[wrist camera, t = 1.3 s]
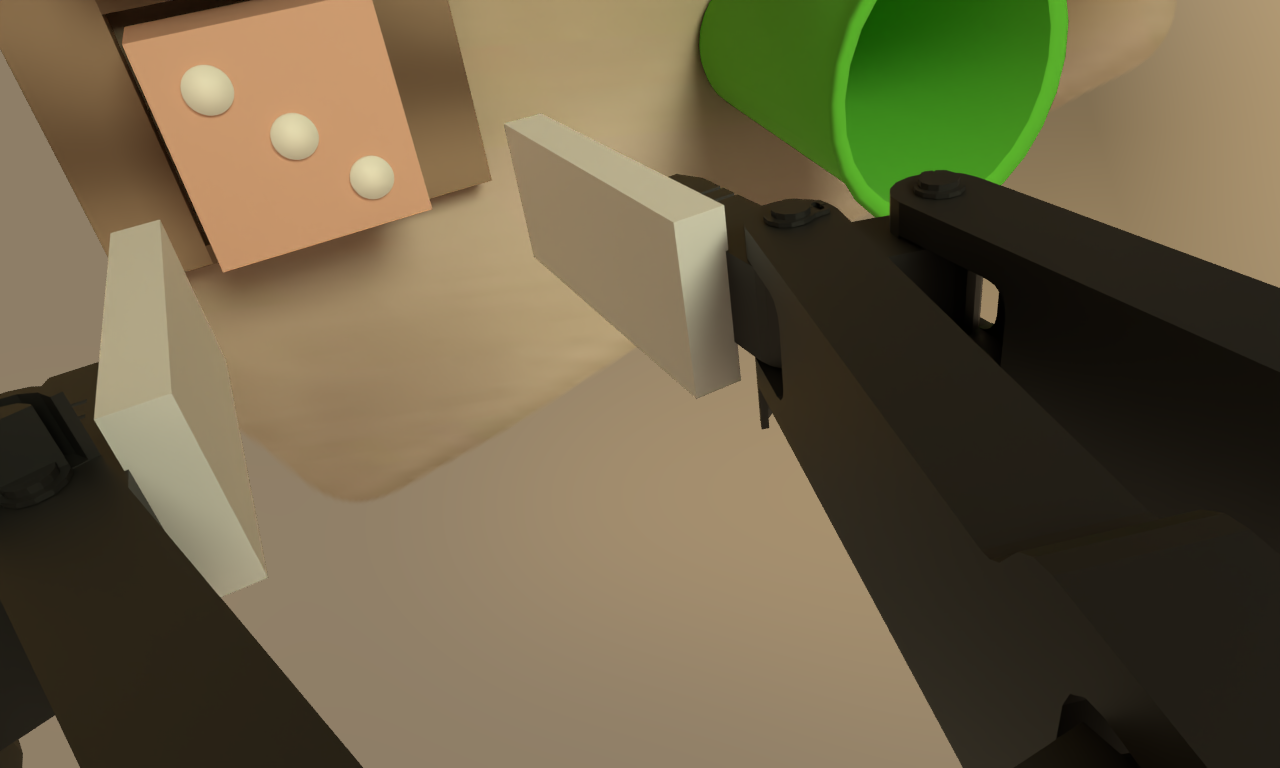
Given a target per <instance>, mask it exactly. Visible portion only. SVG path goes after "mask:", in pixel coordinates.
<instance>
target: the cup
mask: <svg viewBox="0 0 1280 768" xmlns="http://www.w3.org/2000/svg"><path fill="white" fill-rule="evenodd" d="M1067 32H1068V11H1067V0H711V1H710V3H709V5H708V7H707V9H706V11H705V13H704V17H703V21H702V25H701V28H700V39H699V50H700V57H701V63H702V65H703V68H704V71H705V74H706V76H707V79H708V81H709V83H710V84H711V86H712V87H713V89H714V90H715V91H716V93H717V94H718V95H719V96H721V97H722V98H723V99H724V100H725V101H726V102H728V103H729V104H731V105H732V106H733V107H735V108H736V109H738V110H739V111H741V112H742V113H744V114H745V115H747V116H748V117H749V118H751V119H752V120H754V121H755V122H757V123H758V124H760V125H761V126H763V127H764V128H765V129H767V130H768V131H770V132H771V133H773V134H774V135H776V136H777V137H778V138H780V139H781V140H783V141H784V142H786V143H787V144H789V145H790V146H792V147H793V148H794V149H796V150H797V151H799V152H800V153H802V154H803V155H805V156H806V157H808V158H809V159H810V160H812V161H813V162H815V163H816V164H818V165H819V166H821V167H822V168H823V169H825V170H826V171H828V172H829V173H831V174H832V175H834V176H835V177H837V178H838V179H839V180H841V181H842V182H844V183H845V184H846V186H847V188H848V189H849V191H850V192H851V194H852V196H853V197H854V199H855V200H856V201H857V202H858V203H859V204H860V205H861V206H863V207H864V208H865V209H866V210H867V211H868V212H869V213H871V214H872V215H873V216H874V217H876V218H877V217H882V216H887V215H889V211H890V188H891V187H892V186H893V185H894V184H895V183H896V182H898V181H900V180H903V179H905V178H907V177H910V176H915V175H919V174H921V172H924V171H931V170H933V171H935V170H948V171H951V172H954V173H964V174H968V175H972V176H976V177H979V178H982V179H985V180H987V181H990V182H993V183H996V184H998V185H1002V184H1003V183H1004V182H1005V181H1006V179H1007V178H1008V177H1009V175H1010V174H1011V173H1012V172H1013V171H1014V169H1015V168H1016V167H1017V166H1018V164H1019V163H1020V162H1021V161H1022V160H1023V158H1024V157H1025V156H1026V154H1027V152H1028V151H1029V149H1030V147H1031V145H1032V144H1033V142H1034V140H1035V139H1036V137H1037V135H1038V133H1039V132H1040V130H1041V128H1042V127H1043V124H1044V122H1045V119H1046V117H1047V115H1048V112H1049V110H1050V107H1051V105H1052V102H1053V100H1054V97H1055V95H1056V92H1057V88H1058V84H1059V80H1060V76H1061V72H1062V68H1063V64H1064V60H1065V54H1066V43H1067Z"/></svg>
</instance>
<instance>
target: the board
mask: <svg viewBox="0 0 1280 768" xmlns="http://www.w3.org/2000/svg"><path fill="white" fill-rule="evenodd" d="M166 1H171V0H0V49H1V51H2V53H3V55H4V57H5V59H6V61H7V63H8V65H9V67H10V68H11V70H12V72H13V75H14V76H15V78H16V80H17V82H18V84H19V86H20V88H21V90H22V92H23V94H24V96H25V98H26V100H27V102H28V103H29V105H30V107H31V109H32V111H33V113H34V115H35V117H36V119H37V121H38V123H39V125H40V127H41V129H42V131H43V132H44V134H45V136H46V138H47V140H48V142H49V144H50V146H51V148H52V150H53V152H54V154H55V156H56V158H57V160H58V162H59V163H60V165H61V167H62V169H63V171H64V173H65V175H66V177H67V179H68V181H69V183H70V185H71V187H72V188H73V190H74V192H75V194H76V196H77V198H78V200H79V202H80V204H81V206H82V208H83V210H84V211H85V214H86V216H87V218H88V219H89V221H90V223H91V225H92V227H93V229H94V231H95V233H96V235H97V237H98V239H99V241H100V242H101V245H102V247H103V249H104V250H105V252H106V254H107V256H109V245H110V234H111V233H113V232H116V231H120V230H124V229H127V228H131V227H134V226H138V225H142V224H145V223H149V222H152V221H156V220H161V223H162V225H163V227H164V229H165V231H166V233H167V235H168V237H169V240H170V242H171V244H172V246H173V248H174V250H175V252H176V254H177V257H178V259H179V261H180V263H181V265H182V267H183V269H184V272H187V271H190V270H194V269H197V268H201V267H204V266H207V265H211V264H214V263H217V262H218V260H217V258H216V255H215V253H214V251H213V249H212V246H211V244H210V242H209V240H208V237H207V235H206V233H205V232H202V230H201V228H200V225H199V223H198V221H197V219H196V216H195V214H194V212H193V210H192V207H191V205H190V203H189V201H188V198H187V196H186V194H185V192H184V190H183V187H182V185H181V183H180V181H179V178H178V176H177V174H176V172H175V169H174V167H173V165H172V163H171V160H170V158H169V156H168V154H167V151H166V149H165V147H164V145H163V142H162V140H161V138H160V136H159V133H158V131H157V129H156V127H155V124H154V122H153V120H152V118H151V115H150V113H149V111H148V109H147V106H146V104H145V102H144V100H143V97H142V95H141V93H140V91H139V89H138V86H137V84H136V82H135V80H134V77H133V75H132V73H131V71H130V68H129V66H128V64H127V62H126V59H125V57H124V55H123V53H122V50H121V48H120V46H119V44H118V41H117V39H116V37H115V35H114V32H113V30H112V28H111V26H110V23H109V21H108V19H107V17H106V14H107V13H112V12H117V11H122V10H127V9H132V8H137V7H142V6H147V5H151V4H156V3H161V2H166ZM372 1H373V5H374V8H375V12H376V15H377V19H378V22H379V25H380V29H381V32H382V36H383V39H384V43H385V46H386V50H387V53H388V57H389V60H390V64H391V67H392V71H393V74H394V78H395V81H396V85H397V88H398V92H399V95H400V98H401V102H402V105H403V109H404V112H405V116H406V119H407V123H408V126H409V130H410V133H411V137H412V140H413V144H414V147H415V151H416V154H417V158H418V161H419V165H420V168H421V171H422V175H423V178H424V182H425V185H426V189H427V192H428V196H429V199H431V198H435V197H438V196H441V195H445V194H448V193H451V192H455V191H458V190H461V189H465V188H468V187H471V186H475V185H478V184H481V183H485V182H488V181H491V180H492V179H491V175H490V171H489V166H488V162H487V158H486V154H485V150H484V146H483V142H482V138H481V134H480V130H479V125H478V121H477V117H476V113H475V109H474V105H473V101H472V97H471V93H470V89H469V84H468V80H467V76H466V72H465V68H464V64H463V60H462V56H461V52H460V48H459V43H458V39H457V35H456V31H455V27H454V23H453V19H452V15H451V11H450V7H449V2H448V0H372Z"/></svg>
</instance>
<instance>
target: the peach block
mask: <svg viewBox="0 0 1280 768" xmlns="http://www.w3.org/2000/svg"><path fill="white" fill-rule="evenodd" d="M122 46H123V48H124V50H125V52H126V55H127V57H128V59H129V62H130V64H131V66H132V68H133V71H134V73H135V75H136V77H137V80H138V82H139V84H140V86H141V89H142V91H143V93H144V95H145V98H146V100H147V102H148V104H149V107H150V109H151V111H152V113H153V116H154V118H155V120H156V122H157V125H158V127H159V129H160V131H161V134H162V136H163V138H164V140H165V143H166V145H167V147H168V149H169V152H170V154H171V156H172V158H173V161H174V163H175V165H176V167H177V170H178V172H179V174H180V176H181V179H182V181H183V183H184V185H185V188H186V190H187V192H188V194H189V197H190V199H191V201H192V203H193V206H194V208H195V210H196V212H197V215H198V217H199V219H200V222H201V224H202V226H203V228H204V231H205V233H206V235H207V237H208V240H209V242H210V244H211V246H212V249H213V251H214V253H215V255H216V258H217V260H218V262H219V264H220V267H221V269H222V271H223V272H227V271H230V270H233V269H237V268H240V267H243V266H246V265H250V264H253V263H256V262H260V261H263V260H266V259H270V258H273V257H276V256H279V255H283V254H286V253H289V252H293V251H296V250H299V249H303V248H306V247H309V246H312V245H316V244H319V243H322V242H326V241H329V240H332V239H335V238H339V237H342V236H345V235H349V234H352V233H355V232H359V231H362V230H365V229H368V228H372V227H375V226H378V225H382V224H385V223H388V222H392V221H395V220H398V219H401V218H405V217H408V216H411V215H415V214H418V213H421V212H424V211H428V210H431V209H432V206H431V203H430V199H429V196H428V192H427V189H426V185H425V182H424V178H423V175H422V171H421V168H420V165H419V161H418V158H417V154H416V151H415V147H414V144H413V140H412V137H411V133H410V130H409V126H408V123H407V119H406V116H405V112H404V109H403V105H402V102H401V98H400V95H399V92H398V88H397V85H396V81H395V78H394V74H393V71H392V67H391V64H390V60H389V57H388V53H387V50H386V46H385V43H384V39H383V36H382V32H381V29H380V25H379V22H378V19H377V15H376V12H375V8H374V5H373V1H372V0H251V1H246V2H241V3H236V4H232V5H227V6H222V7H217V8H213V9H208V10H203V11H198V12H193V13H189V14H184V15H179V16H174V17H170V18H165V19H160V20H155V21H150V22H146V23H141V24H136V25H131V26H127V27H124V33H123V41H122Z"/></svg>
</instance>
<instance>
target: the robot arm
mask: <svg viewBox="0 0 1280 768" xmlns="http://www.w3.org/2000/svg"><path fill="white" fill-rule="evenodd" d="M504 127H505V131H506V136H507V140H508V145H509V149H510V153H511V158H512V162H513V166H514V171H515V175H516V180H517V184H518V188H519V193H520V197H521V202H522V206H523V210H524V215H525V219H526V223H527V228H528V232H529V237H530V241H531V245H532V250H533V254H534V257H535V258H536V259H537V260H538V261H540V262H541V263H542V264H543V265H544V266H545V267H546V268H548V269H549V270H550V271H551V272H552V273H553V274H554V275H556V276H557V277H558V278H559V279H560V280H561V281H562V282H564V283H565V284H566V285H567V286H568V287H569V288H570V289H572V290H573V291H574V292H575V293H576V294H577V295H578V296H580V297H581V298H582V299H583V300H584V301H585V302H586V303H588V304H589V305H590V306H591V307H592V308H593V309H594V310H596V311H597V312H598V313H599V314H600V315H601V316H602V317H604V318H605V319H606V320H607V321H608V322H609V323H610V324H612V325H613V326H614V327H615V328H616V329H617V330H618V331H620V332H621V333H622V334H623V335H624V336H625V337H626V338H628V339H629V340H630V341H631V342H632V343H633V344H634V345H636V346H637V347H638V348H639V349H640V350H641V351H642V352H644V353H645V354H646V355H647V356H648V357H649V358H651V359H652V360H653V361H654V362H655V363H656V364H657V365H658V366H660V367H661V368H662V369H663V370H664V371H665V372H666V373H668V374H669V375H670V376H671V377H672V378H673V379H674V380H676V381H677V382H678V383H679V384H680V385H681V386H682V387H684V388H685V389H686V390H687V391H688V392H689V393H690V394H692V395H693V396H694V397H695V398H696V399H697V398H700V397H702V396H705V395H707V394H709V393H712V392H714V391H716V390H719V389H721V388H724V387H726V386H729V385H731V384H733V383H736V382H738V381H740V380H741V376H740V366H739V355H738V345H740V346H741V347H742V348H744V349H745V350H747V351H748V352H749V353H751V354H752V355H754V356H755V361H756V373H757V384H758V396H759V408H760V421H761V427H762V429H766V428H769V420H768V418H769V417H770V416H771V414H772V413H773V415H774V417H775V418H776V420H777V422H778V424H779V426H780V428H781V430H782V432H783V433H784V435H785V437H786V439H787V441H788V443H789V444H790V446H791V448H792V450H793V452H794V454H795V456H796V458H797V459H798V461H799V463H800V465H801V467H802V469H803V471H804V473H805V474H806V476H807V478H808V480H809V482H810V484H811V485H812V487H813V489H814V491H815V493H816V495H817V497H818V499H819V500H820V502H821V504H822V506H823V508H824V510H825V512H826V513H827V515H828V517H829V519H830V521H831V523H832V525H833V526H834V528H835V530H836V532H837V534H838V536H839V538H840V540H841V541H842V543H843V545H844V547H845V549H846V550H847V553H848V554H849V556H850V558H851V560H852V562H853V564H854V566H855V567H856V569H857V571H858V573H859V575H860V577H861V579H862V581H863V582H864V584H865V586H866V588H867V590H868V592H869V594H870V595H871V597H872V599H873V601H874V603H875V605H876V607H877V608H878V610H879V612H880V614H881V616H882V618H883V620H884V622H885V623H886V625H887V627H888V629H889V631H890V633H891V635H892V636H893V638H894V640H895V642H896V644H897V646H898V648H899V649H900V651H901V653H902V655H903V657H904V659H905V661H906V662H907V664H908V666H909V668H910V670H911V672H912V674H913V676H914V677H915V679H916V681H917V683H918V685H919V687H920V689H921V690H922V692H923V694H924V696H925V698H926V700H927V702H928V703H929V705H930V707H931V709H932V711H933V713H934V715H935V717H936V718H937V720H938V722H939V724H940V726H941V728H942V729H943V731H944V733H945V735H946V737H947V739H948V741H949V743H950V744H951V746H952V748H953V750H954V752H955V754H956V756H957V757H958V759H959V761H960V763H961V765H962V767H963V768H1280V288H1278V287H1276V286H1273V285H1270V284H1267V283H1264V282H1262V281H1259V280H1256V279H1254V278H1251V277H1248V276H1245V275H1243V274H1240V273H1237V272H1235V271H1232V270H1229V269H1227V268H1224V267H1221V266H1218V265H1216V264H1213V263H1210V262H1207V261H1204V260H1202V259H1199V258H1197V257H1194V256H1191V255H1189V254H1186V253H1183V252H1180V251H1178V250H1175V249H1172V248H1169V247H1167V246H1164V245H1161V244H1159V243H1156V242H1153V241H1150V240H1148V239H1145V238H1142V237H1140V236H1136V235H1134V234H1131V233H1129V232H1126V231H1123V230H1121V229H1118V228H1115V227H1112V226H1110V225H1107V224H1104V223H1101V222H1099V221H1096V220H1093V219H1091V218H1088V217H1085V216H1082V215H1080V214H1077V213H1074V212H1072V211H1069V210H1066V209H1064V208H1061V207H1058V206H1055V205H1053V204H1050V203H1047V202H1044V201H1041V200H1039V199H1036V198H1034V197H1031V196H1028V195H1025V194H1023V193H1020V192H1017V191H1015V190H1012V189H1009V188H1006V187H1004V186H1001V185H998V184H996V183H993V182H990V181H987V180H985V179H982V178H979V177H976V176H972V175H968V174H964V173H954V172H951V171H948V170H935V171H933V170H931V171H924V172H921V174H919V175H915V176H910V177H907V178H905V179H903V180H900V181H898V182H896V183H895V184H894V185H893V186H892V187H891V188H890V211H889V215H887V216H882V217H877V218H871V219H866V220H861V221H855V222H851V221H850V220H849V219H848V218H847V217H846V216H845V215H844V214H843V213H841V212H840V211H839V210H838V209H837V208H836V207H834V206H832V205H830V204H829V203H826V202H823V201H821V200H802V199H786V200H782V201H777V202H774V203H770V204H767V205H763V206H760V205H758V204H756V203H754V202H752V201H750V200H748V199H746V198H744V197H741V196H739V195H734V193H733V192H731V191H729V190H727V189H725V188H720V186H718V185H716V184H714V183H712V182H710V181H708V180H706V179H703V178H699V177H692V176H686V175H679V174H675V175H672V176H669V177H667V176H665V175H663V174H661V173H659V172H657V171H655V170H653V169H651V168H649V167H647V166H645V165H643V164H641V163H639V162H637V161H635V160H633V159H631V158H629V157H627V156H625V155H623V154H621V153H619V152H617V151H615V150H613V149H611V148H609V147H607V146H605V145H603V144H601V143H599V142H597V141H595V140H593V139H591V138H589V137H587V136H585V135H583V134H581V133H579V132H577V131H575V130H573V129H571V128H569V127H567V126H565V125H563V124H561V123H559V122H557V121H555V120H553V119H551V118H549V117H547V116H545V115H543V114H541V113H540V114H536V115H533V116H529V117H526V118H522V119H519V120H515V121H511V122H508V123H504ZM983 278H985V279H987V280H989V281H990V282H991V283H992V284H994V285H995V286H996V288H997V289H998V291H999V299H998V310H997V317H996V321H995V324H993V323H990V322H988V321H986V320H984V319H982V318H980V310H981V297H982V284H983ZM737 344H738V345H737ZM267 578H268V575H267V570H266V564H265V559H264V554H263V549H262V544H261V539H260V533H259V528H258V523H257V517H256V513H255V507H254V502H253V497H252V492H251V486H250V481H249V476H248V472H247V466H246V461H245V455H244V451H243V445H242V440H241V435H240V430H239V424H238V419H237V414H236V409H235V404H234V398H233V393H232V388H231V383H230V378H229V373H228V367H227V362H226V359H225V357H224V354H223V352H222V350H221V348H220V346H219V344H218V342H217V340H216V337H215V335H214V333H213V331H212V329H211V327H210V325H209V323H208V320H207V318H206V316H205V314H204V312H203V310H202V308H201V306H200V303H199V301H198V299H197V297H196V295H195V293H194V291H193V289H192V286H191V284H190V282H189V280H188V278H187V276H186V274H185V272H184V269H183V267H182V265H181V263H180V261H179V259H178V257H177V254H176V252H175V250H174V248H173V246H172V244H171V242H170V240H169V237H168V235H167V233H166V231H165V229H164V227H163V225H162V223H161V220H156V221H152V222H149V223H145V224H142V225H138V226H134V227H131V228H127V229H124V230H120V231H116V232H113V233H111V234H110V245H109V256H108V268H107V280H106V290H105V301H104V312H103V323H102V335H101V346H100V357H99V362H98V363H94V364H92V365H88V366H85V367H82V368H79V369H76V370H73V371H69V372H66V373H63V374H60V375H57V376H54V377H51V378H49V379H48V380H47V381H46V382H45V383H44V384H43V385H42V386H40V387H39V386H38V387H27V388H22V389H18V390H13V391H9V392H5V393H2V394H0V768H22V758H23V753H22V749H21V746H20V743H19V740H18V739H19V738H21V737H22V736H24V735H25V734H27V733H29V732H30V731H32V730H33V729H35V728H36V727H37V726H39V725H41V724H42V723H44V722H45V721H47V720H48V719H50V718H51V717H53V716H54V715H55V716H56V718H57V720H58V721H59V724H60V726H61V728H62V730H63V732H64V735H65V737H66V739H67V741H68V743H69V745H70V747H71V749H72V751H73V753H74V756H75V758H76V760H77V762H78V764H79V766H80V768H363V767H362V766H361V765H360V763H359V762H358V761H357V760H356V759H355V757H354V756H353V755H352V754H351V753H350V751H349V750H348V749H347V748H346V747H345V746H344V744H343V743H342V742H341V741H340V740H339V738H338V737H337V736H336V735H335V734H334V732H333V731H332V730H331V729H330V728H329V726H328V725H327V724H326V723H325V722H324V721H323V719H322V718H321V717H320V716H319V715H318V713H317V712H316V711H315V710H314V709H313V707H312V706H311V705H310V704H309V703H308V701H307V700H306V699H305V698H304V697H303V695H302V694H301V693H300V692H299V691H298V689H297V688H296V687H295V686H294V685H293V683H292V682H291V681H290V680H289V679H288V678H287V676H286V675H285V674H284V673H283V672H282V670H281V669H280V668H279V667H278V666H277V664H276V663H275V662H274V661H273V660H272V658H271V657H270V656H269V655H268V654H267V652H266V651H265V650H264V649H263V648H262V646H261V645H260V644H259V643H258V642H257V640H256V639H255V638H254V637H253V636H252V635H251V634H250V632H249V631H248V630H247V629H246V627H245V626H244V625H243V624H242V623H241V621H240V620H239V619H238V618H237V617H236V615H235V614H234V613H233V612H232V611H231V609H230V608H229V607H228V606H227V605H226V603H225V602H224V601H223V600H222V599H221V597H224V596H226V595H228V594H231V593H233V592H236V591H238V590H240V589H243V588H245V587H247V586H250V585H252V584H255V583H257V582H259V581H262V580H264V579H267Z"/></svg>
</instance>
